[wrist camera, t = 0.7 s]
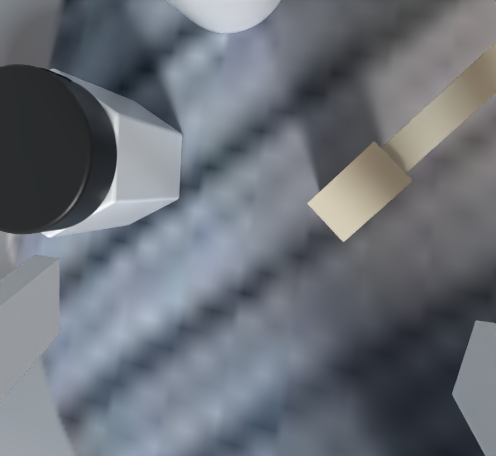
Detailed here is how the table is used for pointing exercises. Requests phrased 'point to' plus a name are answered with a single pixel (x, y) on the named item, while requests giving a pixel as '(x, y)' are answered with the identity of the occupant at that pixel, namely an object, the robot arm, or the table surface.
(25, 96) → the jar
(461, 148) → the table surface
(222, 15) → the candle holder
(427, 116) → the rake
